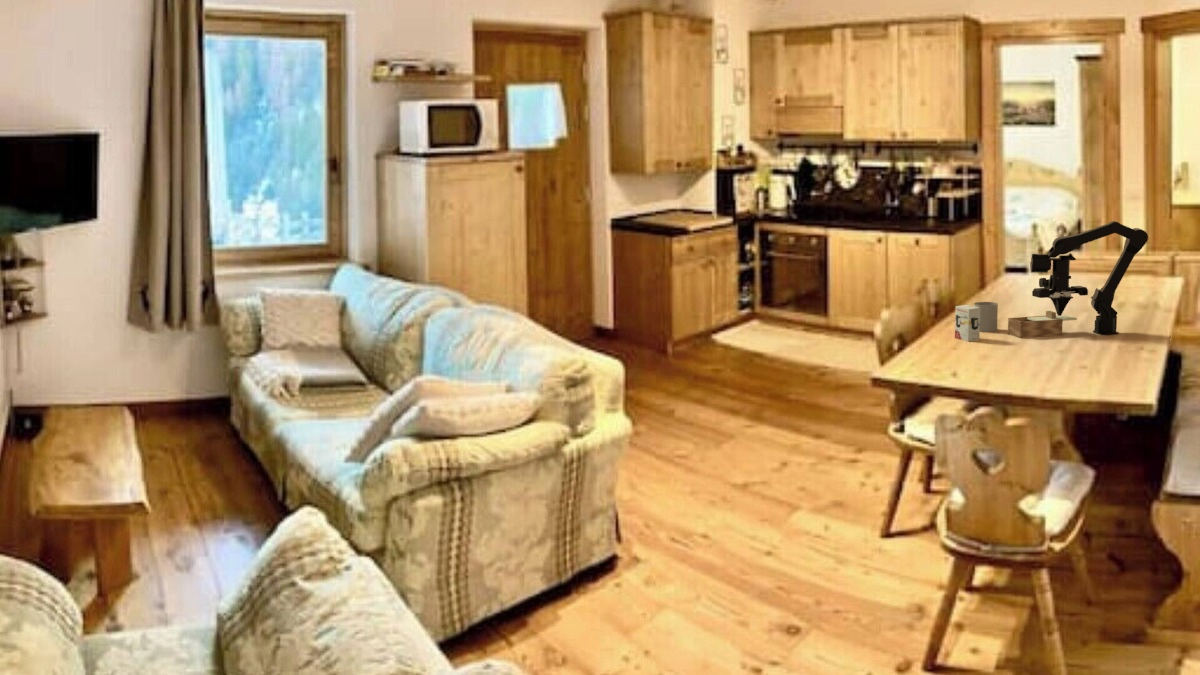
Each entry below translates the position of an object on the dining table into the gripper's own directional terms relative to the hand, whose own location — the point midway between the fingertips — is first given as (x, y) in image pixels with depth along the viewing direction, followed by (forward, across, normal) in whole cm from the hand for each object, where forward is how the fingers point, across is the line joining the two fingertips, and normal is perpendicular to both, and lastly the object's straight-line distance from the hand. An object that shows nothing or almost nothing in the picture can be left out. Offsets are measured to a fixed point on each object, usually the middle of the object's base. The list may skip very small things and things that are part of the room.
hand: (1059, 315), depth 435 cm
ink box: (+7, +35, 0) cm, 36 cm away
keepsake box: (+6, +9, 0) cm, 11 cm away
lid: (+1, +3, 0) cm, 3 cm away
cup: (+7, +21, -14) cm, 26 cm away
